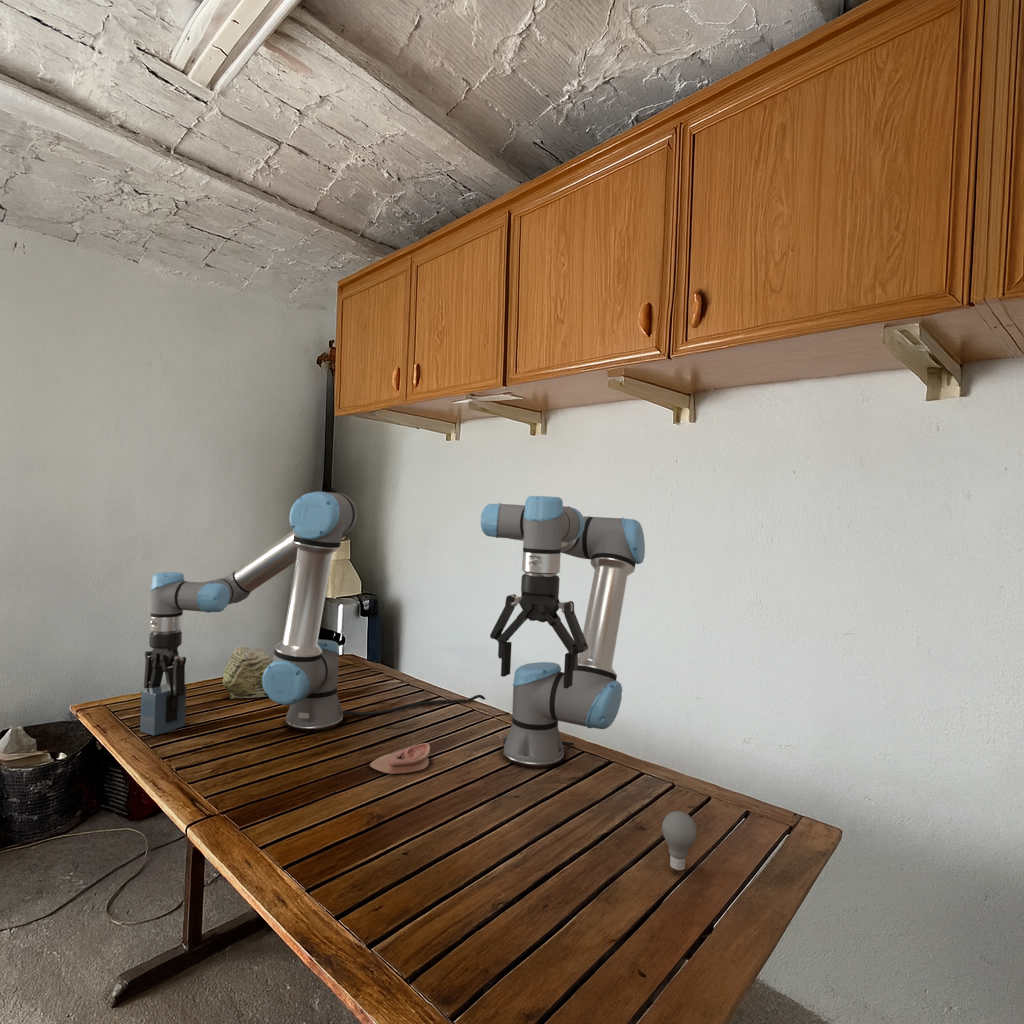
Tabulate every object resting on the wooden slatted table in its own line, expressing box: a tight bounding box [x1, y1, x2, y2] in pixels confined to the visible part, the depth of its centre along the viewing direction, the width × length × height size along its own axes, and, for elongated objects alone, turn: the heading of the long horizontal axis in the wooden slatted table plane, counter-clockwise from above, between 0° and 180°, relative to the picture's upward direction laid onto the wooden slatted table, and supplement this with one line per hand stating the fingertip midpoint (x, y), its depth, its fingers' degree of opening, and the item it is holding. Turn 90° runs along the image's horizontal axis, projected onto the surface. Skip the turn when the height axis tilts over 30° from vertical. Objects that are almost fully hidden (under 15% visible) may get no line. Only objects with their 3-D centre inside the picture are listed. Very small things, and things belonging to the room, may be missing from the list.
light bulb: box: [661, 810, 698, 871], centre depth 113 cm, size 6×6×10 cm
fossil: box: [222, 646, 273, 699], centre depth 198 cm, size 9×18×15 cm, turn 132°
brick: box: [139, 683, 187, 737], centre depth 167 cm, size 9×6×11 cm, turn 153°
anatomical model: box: [369, 742, 431, 775], centre depth 151 cm, size 13×4×12 cm
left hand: (163, 718), depth 167 cm, fingers closed on brick, 6 cm apart
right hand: (535, 680), depth 126 cm, fingers open, 13 cm apart
